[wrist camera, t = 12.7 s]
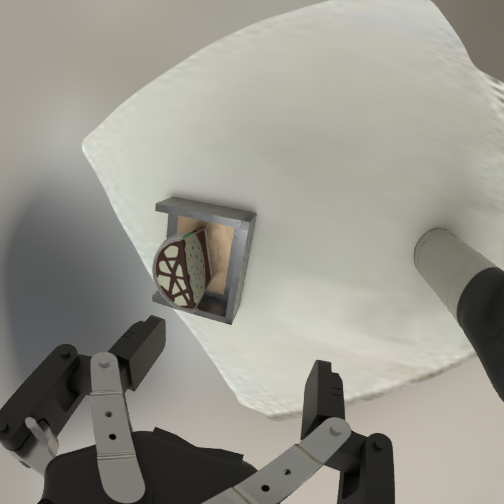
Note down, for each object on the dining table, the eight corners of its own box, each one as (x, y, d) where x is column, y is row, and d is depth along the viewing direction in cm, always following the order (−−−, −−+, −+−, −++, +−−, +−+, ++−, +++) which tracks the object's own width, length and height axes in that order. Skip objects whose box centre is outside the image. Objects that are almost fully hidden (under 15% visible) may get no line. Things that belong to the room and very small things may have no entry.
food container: (171, 221, 47) (141, 238, 37) (204, 219, 45) (179, 236, 36) (182, 285, 51) (158, 312, 42) (213, 286, 50) (193, 315, 40)
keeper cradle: (256, 213, 45) (249, 222, 39) (239, 306, 51) (231, 324, 46) (172, 197, 46) (155, 203, 41) (166, 286, 53) (152, 301, 48)
